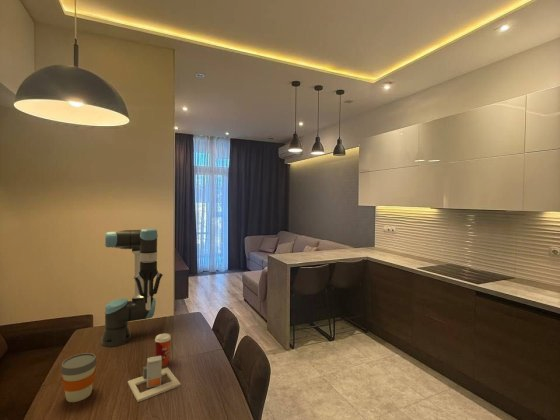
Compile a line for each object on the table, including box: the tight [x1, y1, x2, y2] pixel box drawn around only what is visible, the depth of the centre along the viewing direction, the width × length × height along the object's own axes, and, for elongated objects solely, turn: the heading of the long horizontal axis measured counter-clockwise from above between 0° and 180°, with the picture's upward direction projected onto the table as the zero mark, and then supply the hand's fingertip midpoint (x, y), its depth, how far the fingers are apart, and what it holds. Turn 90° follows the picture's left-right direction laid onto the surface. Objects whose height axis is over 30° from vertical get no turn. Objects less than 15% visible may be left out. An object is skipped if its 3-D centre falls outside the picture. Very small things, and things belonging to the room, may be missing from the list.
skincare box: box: [146, 355, 163, 389], centre depth 134 cm, size 6×4×12 cm
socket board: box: [127, 365, 181, 403], centre depth 135 cm, size 16×18×6 cm
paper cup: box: [154, 333, 172, 367], centre depth 152 cm, size 8×8×14 cm
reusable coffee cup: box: [60, 352, 97, 403], centre depth 126 cm, size 13×13×15 cm
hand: (148, 309), depth 144 cm, fingers closed
